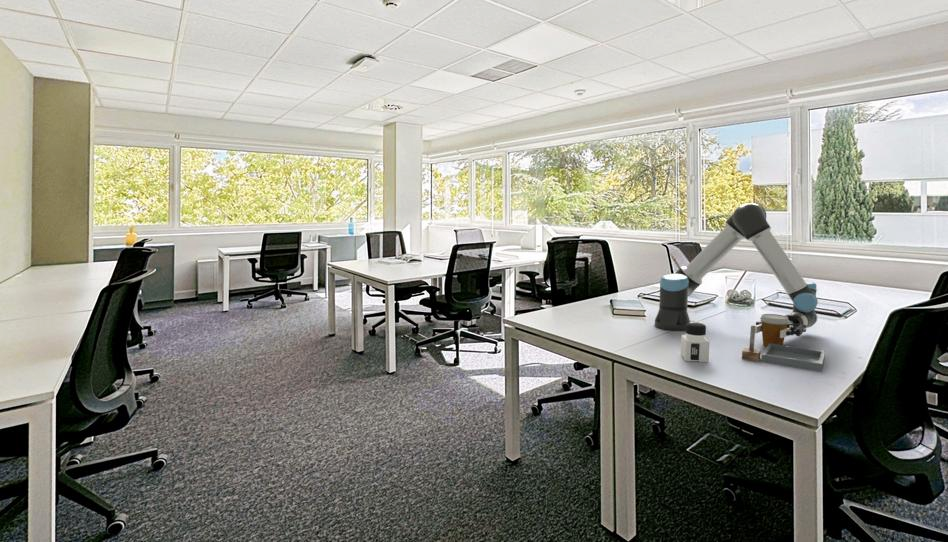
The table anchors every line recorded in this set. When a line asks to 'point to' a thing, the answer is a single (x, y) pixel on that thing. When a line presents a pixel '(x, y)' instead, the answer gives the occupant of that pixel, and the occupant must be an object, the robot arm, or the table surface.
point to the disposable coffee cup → (773, 328)
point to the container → (695, 343)
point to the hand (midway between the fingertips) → (768, 332)
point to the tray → (794, 357)
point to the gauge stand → (751, 348)
